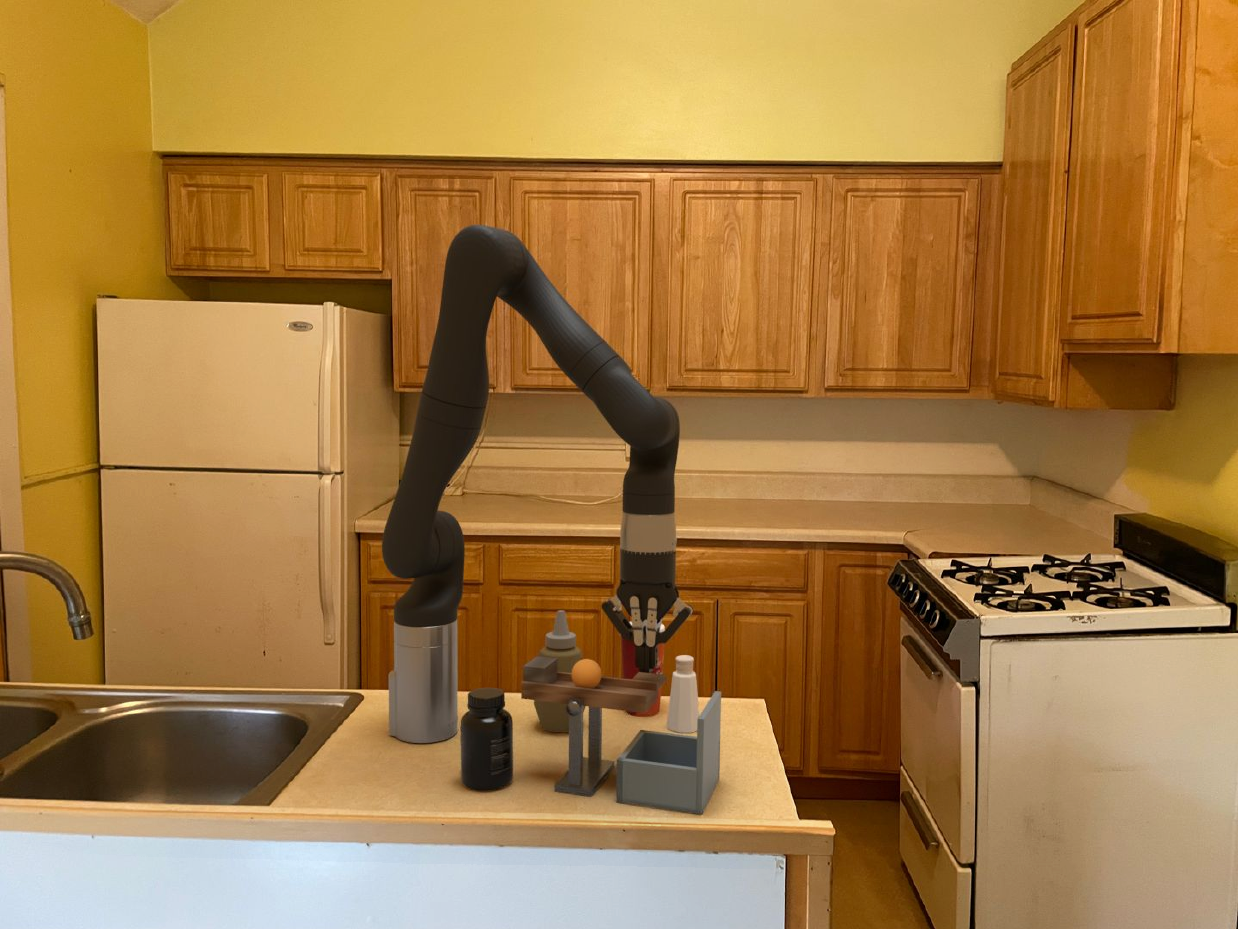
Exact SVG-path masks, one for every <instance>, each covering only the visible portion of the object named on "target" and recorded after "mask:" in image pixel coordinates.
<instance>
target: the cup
mask: <svg viewBox="0 0 1238 929" xmlns="http://www.w3.org/2000/svg"><path fill="white" fill-rule="evenodd" d="M721 718H722V691H717V690H715V691H714V692H713V693H712V696H711V697H710V699H709V700H708V702H707V703H706V705H705V706H704V708H703V709H702V711H701V712H700V713H699V717H698V719H697V731H696V736H695V735H694V736H693V735H686V734H681V733H672V732H662V731H653V730H646V729H640V730H639V731H638V732H637V734H635V735H634V737H633V739H631V742H630V743H629V744H628V745H627V746H626V748H624V750H623V751H622V753H621V754H620V755H618V758H616V779H615V780H616V783H615V784H616V785H615V786H616V790H615V796H616V797H615V798H616V799H615V802H616V803H619V804H627V805H630V806H631V805H632V806H641V807H646V808H652V809H661V810H666V811H667V810H668V811H673V812H680V813H687V814H693V815H699V816H700V815H701V816H702V815H703V814H704V811H705V810H706V808H707V805H708V804H709V801H710V799H711V798H712V795H713V793H714V791H715V789H716V787H717V785H718V784H719V781H720V769H721V768H720V764H721V762H720V760H721V756H720V755H721V726H722V725H721V721H722V720H721Z"/></svg>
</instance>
